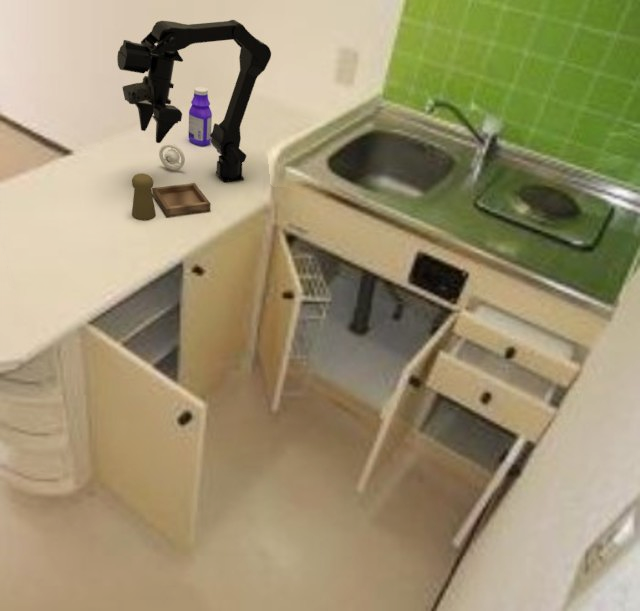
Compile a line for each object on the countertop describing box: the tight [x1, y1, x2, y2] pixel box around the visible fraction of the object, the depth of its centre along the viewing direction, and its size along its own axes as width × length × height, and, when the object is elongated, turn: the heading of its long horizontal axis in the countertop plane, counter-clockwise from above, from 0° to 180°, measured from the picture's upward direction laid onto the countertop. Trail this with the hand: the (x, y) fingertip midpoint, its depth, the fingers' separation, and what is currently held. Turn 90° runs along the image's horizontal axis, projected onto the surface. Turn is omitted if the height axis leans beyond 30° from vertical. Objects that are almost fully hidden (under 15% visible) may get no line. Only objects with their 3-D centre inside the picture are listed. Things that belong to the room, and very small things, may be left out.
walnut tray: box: [151, 182, 211, 218], centre depth 172 cm, size 12×12×2 cm
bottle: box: [188, 86, 213, 147], centre depth 201 cm, size 7×6×17 cm
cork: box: [131, 173, 157, 222], centre depth 162 cm, size 6×6×11 cm
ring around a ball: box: [158, 143, 186, 171], centre depth 187 cm, size 8×6×8 cm
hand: (150, 136), depth 168 cm, fingers open, 9 cm apart
